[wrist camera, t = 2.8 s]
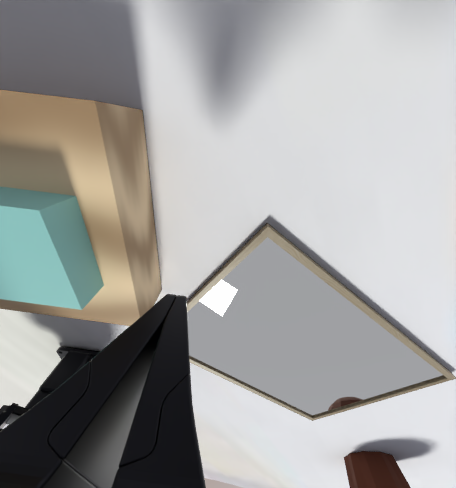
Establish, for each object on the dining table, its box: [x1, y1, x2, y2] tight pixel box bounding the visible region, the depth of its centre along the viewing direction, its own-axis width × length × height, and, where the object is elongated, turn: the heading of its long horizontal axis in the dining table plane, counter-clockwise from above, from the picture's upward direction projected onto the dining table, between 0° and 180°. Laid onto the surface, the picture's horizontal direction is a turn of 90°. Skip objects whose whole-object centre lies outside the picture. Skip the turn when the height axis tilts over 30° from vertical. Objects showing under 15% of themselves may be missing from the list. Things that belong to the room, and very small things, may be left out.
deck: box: [0, 90, 162, 326], centre depth 13 cm, size 14×14×4 cm
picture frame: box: [187, 223, 456, 421], centre depth 22 cm, size 19×1×28 cm
